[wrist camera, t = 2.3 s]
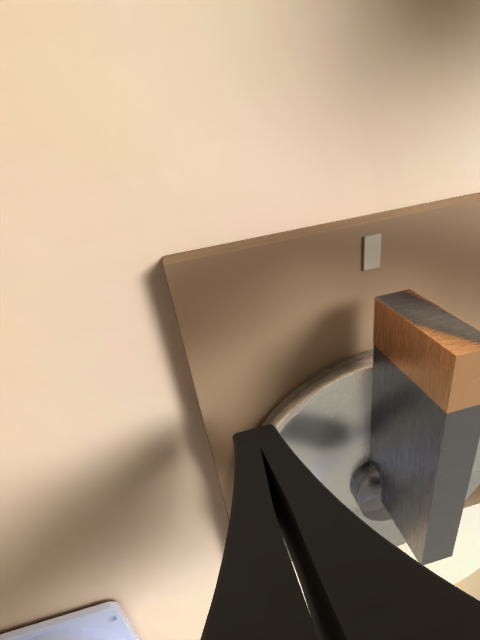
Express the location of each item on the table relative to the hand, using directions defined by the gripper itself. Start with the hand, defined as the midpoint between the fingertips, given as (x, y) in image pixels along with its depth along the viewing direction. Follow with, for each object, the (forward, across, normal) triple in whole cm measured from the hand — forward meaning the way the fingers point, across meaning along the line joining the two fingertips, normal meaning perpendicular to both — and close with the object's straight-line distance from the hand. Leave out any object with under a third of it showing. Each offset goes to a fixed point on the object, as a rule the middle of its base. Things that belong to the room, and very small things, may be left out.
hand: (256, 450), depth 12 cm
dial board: (+4, -6, +3) cm, 8 cm away
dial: (+2, -5, +4) cm, 7 cm away
